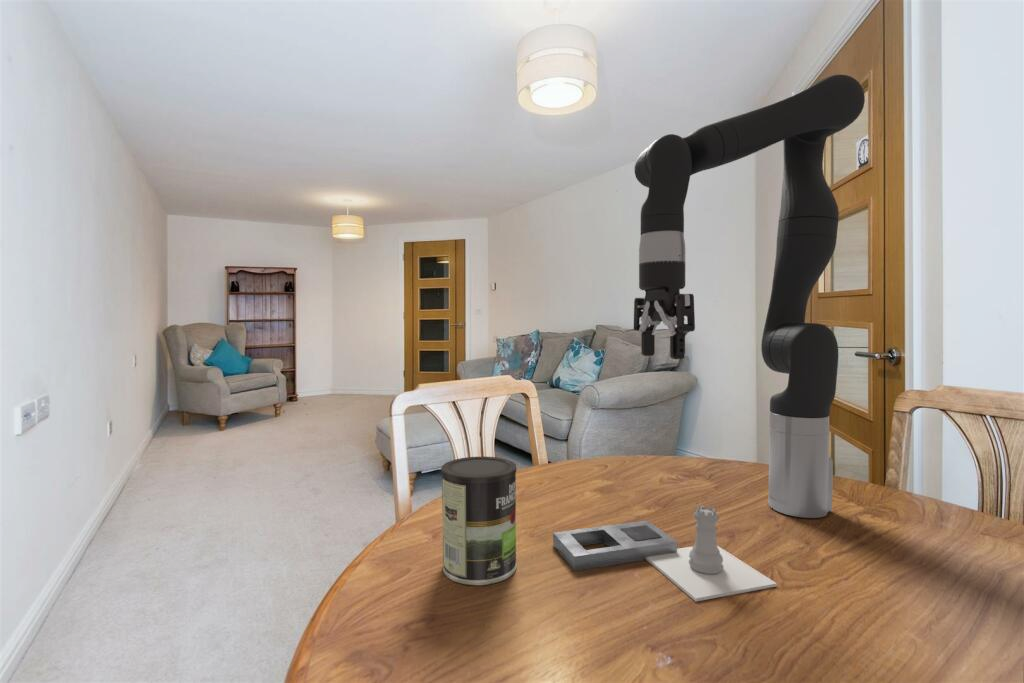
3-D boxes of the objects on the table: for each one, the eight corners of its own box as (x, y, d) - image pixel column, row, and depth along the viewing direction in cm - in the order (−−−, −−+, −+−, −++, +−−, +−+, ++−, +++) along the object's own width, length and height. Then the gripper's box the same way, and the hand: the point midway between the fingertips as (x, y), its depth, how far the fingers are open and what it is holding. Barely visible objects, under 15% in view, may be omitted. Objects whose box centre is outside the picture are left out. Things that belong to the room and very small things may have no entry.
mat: (713, 545, 75) (713, 543, 75) (776, 586, 63) (776, 583, 63) (642, 556, 71) (642, 553, 71) (695, 601, 60) (695, 598, 60)
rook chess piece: (727, 577, 65) (727, 516, 64) (690, 574, 66) (691, 514, 65) (720, 561, 69) (720, 504, 69) (686, 558, 70) (686, 502, 70)
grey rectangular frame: (647, 532, 80) (647, 519, 80) (676, 555, 72) (677, 540, 72) (553, 545, 75) (553, 531, 75) (574, 571, 67) (574, 555, 67)
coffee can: (526, 555, 72) (526, 459, 71) (500, 592, 62) (499, 481, 62) (462, 545, 76) (461, 453, 75) (428, 578, 66) (426, 472, 65)
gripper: (708, 256, 79) (708, 359, 79) (657, 266, 92) (657, 354, 93) (667, 255, 76) (667, 361, 77) (620, 265, 90) (621, 355, 91)
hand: (661, 357), depth 85 cm, fingers open, 8 cm apart
